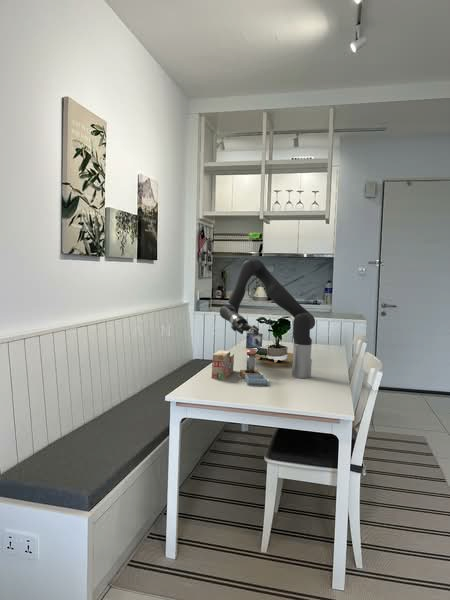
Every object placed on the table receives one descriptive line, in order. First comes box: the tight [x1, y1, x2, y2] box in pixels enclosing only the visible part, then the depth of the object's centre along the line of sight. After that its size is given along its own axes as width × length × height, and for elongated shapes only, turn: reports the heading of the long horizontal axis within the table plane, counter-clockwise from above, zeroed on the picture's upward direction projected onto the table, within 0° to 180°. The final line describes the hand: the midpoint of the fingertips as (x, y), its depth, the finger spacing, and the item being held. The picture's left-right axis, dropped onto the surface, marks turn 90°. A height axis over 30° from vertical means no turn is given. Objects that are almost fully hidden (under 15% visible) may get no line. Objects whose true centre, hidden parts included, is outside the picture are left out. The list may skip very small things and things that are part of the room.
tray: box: [244, 374, 268, 387], centre depth 230 cm, size 9×9×3 cm
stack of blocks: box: [211, 349, 235, 380], centre depth 244 cm, size 21×6×12 cm, turn 166°
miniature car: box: [256, 345, 269, 356], centre depth 288 cm, size 9×18×8 cm, turn 54°
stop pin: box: [245, 349, 257, 373], centre depth 240 cm, size 5×5×14 cm
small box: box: [245, 332, 263, 349], centre depth 324 cm, size 11×6×10 cm, turn 81°
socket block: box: [239, 369, 262, 381], centre depth 240 cm, size 9×9×3 cm
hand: (250, 333), depth 247 cm, fingers open, 8 cm apart
